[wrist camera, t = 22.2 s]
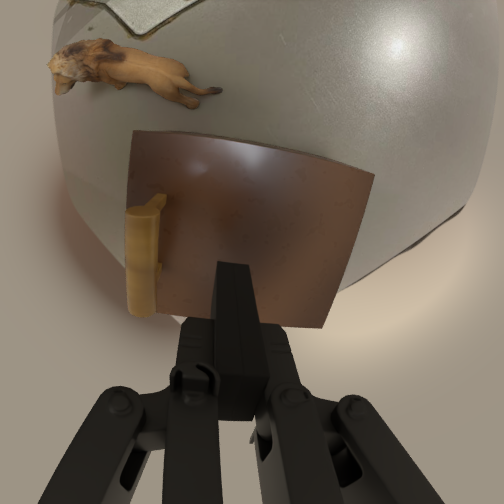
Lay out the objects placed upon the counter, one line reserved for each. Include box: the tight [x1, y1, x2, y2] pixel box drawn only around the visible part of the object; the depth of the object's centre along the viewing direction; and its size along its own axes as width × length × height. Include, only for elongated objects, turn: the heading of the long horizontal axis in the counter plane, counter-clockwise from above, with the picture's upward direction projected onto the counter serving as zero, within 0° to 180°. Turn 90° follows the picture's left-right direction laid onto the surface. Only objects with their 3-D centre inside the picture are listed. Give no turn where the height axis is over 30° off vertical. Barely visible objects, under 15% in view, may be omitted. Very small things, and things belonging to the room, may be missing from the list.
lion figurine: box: [47, 38, 223, 109], centre depth 17 cm, size 15×5×9 cm, turn 75°
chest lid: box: [125, 130, 375, 329], centre depth 17 cm, size 16×14×6 cm
